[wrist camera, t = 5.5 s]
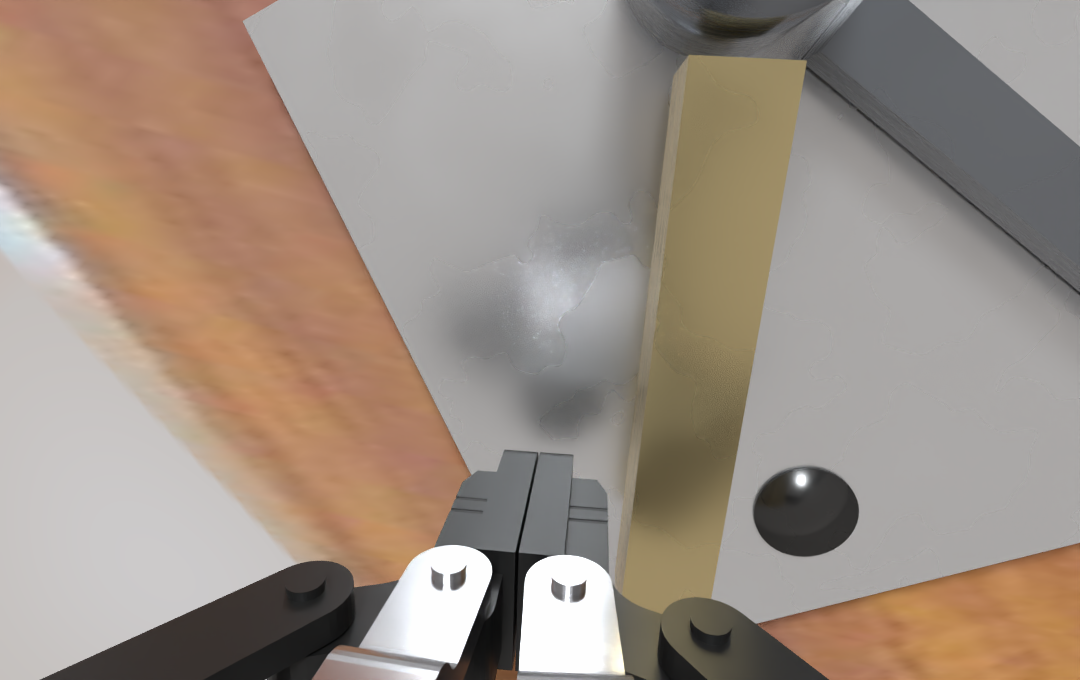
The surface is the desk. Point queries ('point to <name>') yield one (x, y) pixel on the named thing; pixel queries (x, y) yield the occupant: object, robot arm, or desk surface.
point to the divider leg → (703, 317)
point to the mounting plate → (796, 267)
